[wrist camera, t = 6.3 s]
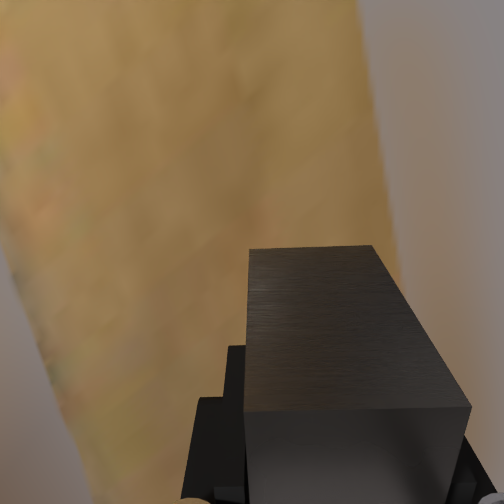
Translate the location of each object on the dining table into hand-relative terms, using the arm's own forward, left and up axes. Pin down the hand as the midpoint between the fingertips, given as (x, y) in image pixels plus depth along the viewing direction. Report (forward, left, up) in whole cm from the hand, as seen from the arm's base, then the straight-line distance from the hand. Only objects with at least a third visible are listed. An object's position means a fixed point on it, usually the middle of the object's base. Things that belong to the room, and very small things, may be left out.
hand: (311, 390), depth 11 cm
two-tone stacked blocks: (+3, 0, -1) cm, 3 cm away
